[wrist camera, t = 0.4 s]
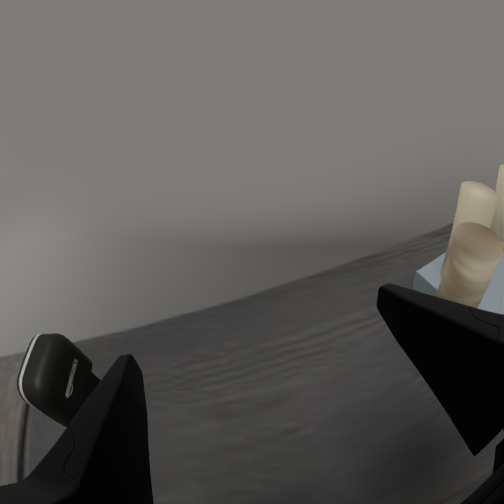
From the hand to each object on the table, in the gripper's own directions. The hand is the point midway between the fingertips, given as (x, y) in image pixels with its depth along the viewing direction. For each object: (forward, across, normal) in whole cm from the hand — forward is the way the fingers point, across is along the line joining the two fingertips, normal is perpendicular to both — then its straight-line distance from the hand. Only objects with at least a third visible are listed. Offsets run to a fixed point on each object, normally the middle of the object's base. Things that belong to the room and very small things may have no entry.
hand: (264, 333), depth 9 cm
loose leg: (+5, -17, +14) cm, 22 cm away
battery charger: (+9, +15, +16) cm, 24 cm away
